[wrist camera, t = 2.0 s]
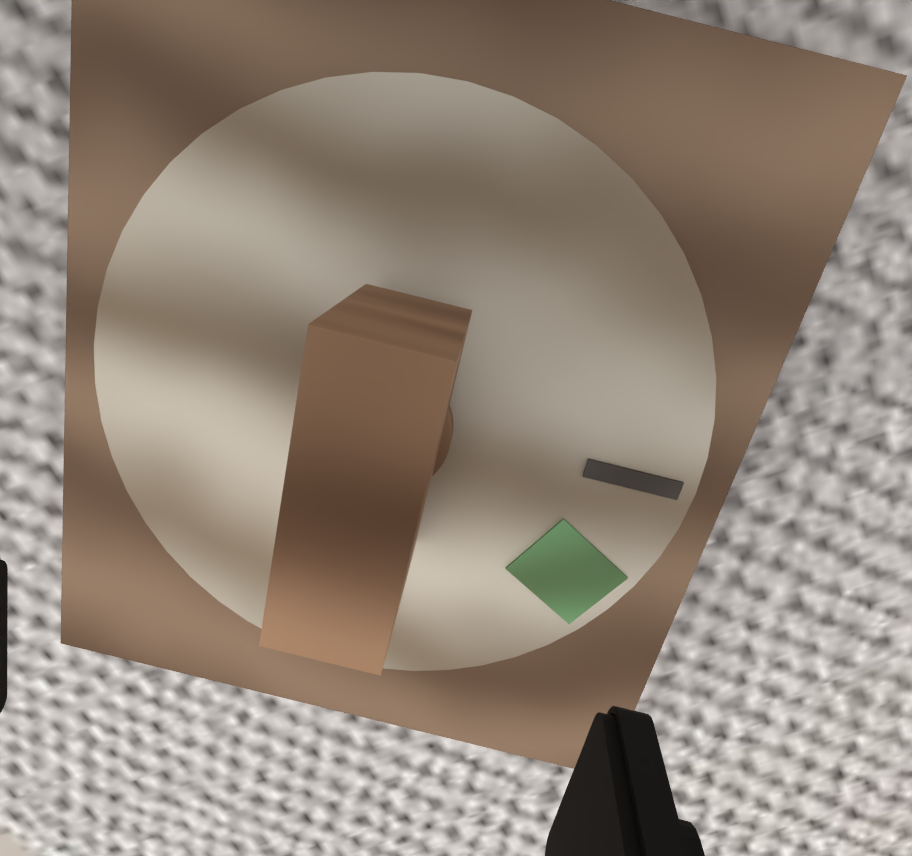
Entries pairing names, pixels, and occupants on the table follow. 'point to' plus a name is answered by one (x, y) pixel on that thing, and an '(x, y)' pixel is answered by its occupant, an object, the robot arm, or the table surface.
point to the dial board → (448, 281)
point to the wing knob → (360, 472)
